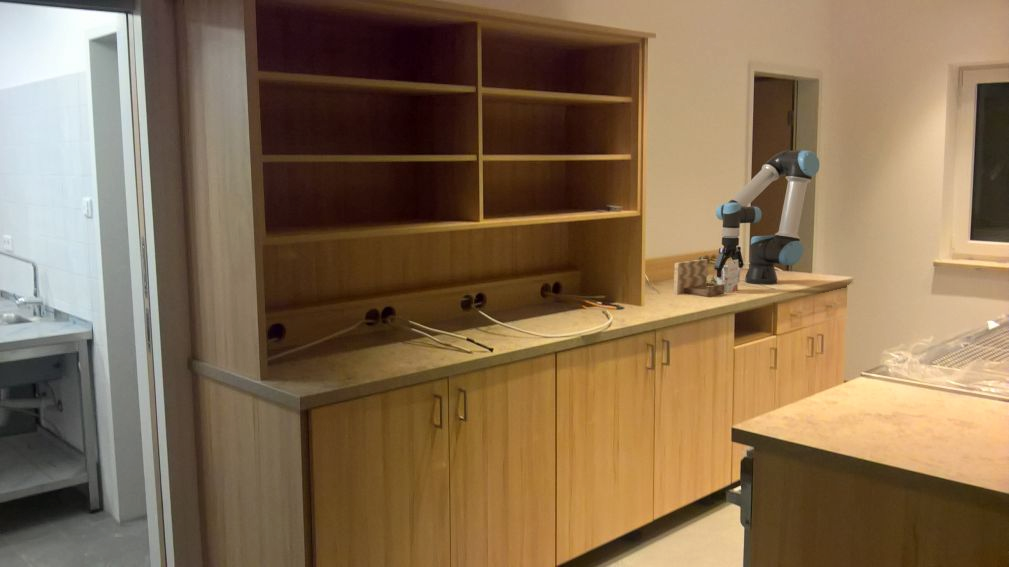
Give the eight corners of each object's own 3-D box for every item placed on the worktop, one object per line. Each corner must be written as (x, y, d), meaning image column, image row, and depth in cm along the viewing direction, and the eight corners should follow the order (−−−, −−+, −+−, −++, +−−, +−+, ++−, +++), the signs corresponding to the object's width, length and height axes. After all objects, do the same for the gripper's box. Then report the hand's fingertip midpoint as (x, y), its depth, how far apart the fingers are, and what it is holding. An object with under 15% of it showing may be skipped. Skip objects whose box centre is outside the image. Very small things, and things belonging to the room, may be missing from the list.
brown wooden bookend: (702, 289, 394) (703, 259, 391) (730, 293, 383) (731, 262, 380) (673, 293, 379) (674, 262, 377) (701, 298, 368) (702, 266, 366)
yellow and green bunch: (712, 287, 398) (710, 256, 397) (678, 287, 410) (676, 257, 409) (722, 285, 405) (720, 254, 404) (689, 285, 417) (687, 255, 416)
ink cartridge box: (728, 289, 393) (730, 258, 390) (737, 291, 389) (739, 259, 387) (717, 291, 387) (719, 259, 385) (727, 292, 383) (728, 260, 381)
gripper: (738, 234, 395) (736, 279, 398) (707, 237, 379) (705, 284, 382) (753, 235, 390) (750, 281, 393) (721, 239, 373) (719, 286, 377)
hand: (728, 283), depth 388 cm, fingers open, 13 cm apart
